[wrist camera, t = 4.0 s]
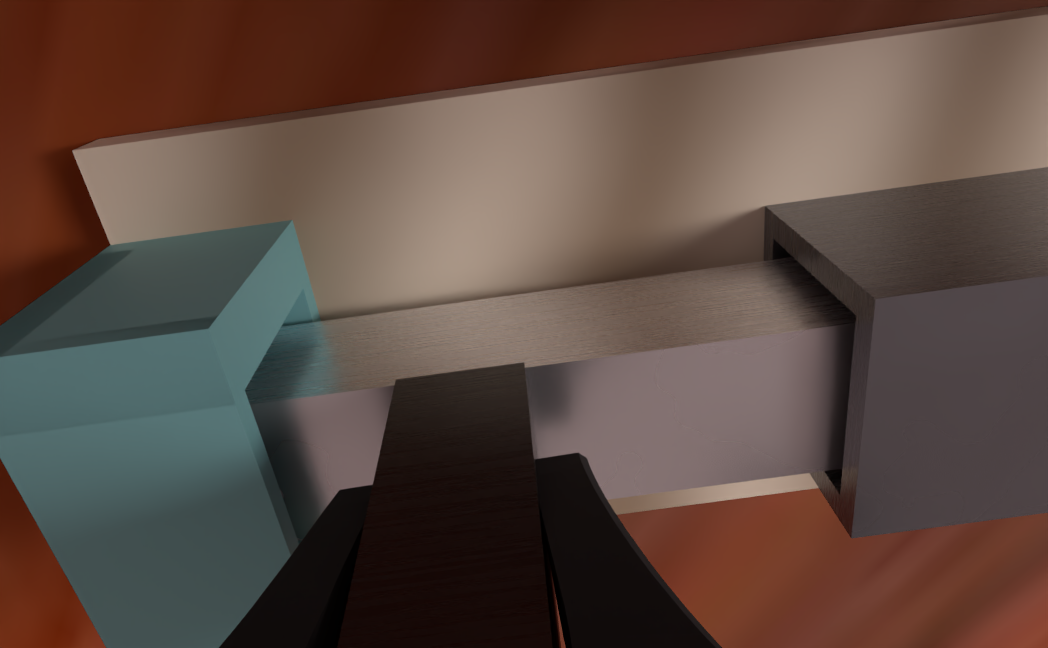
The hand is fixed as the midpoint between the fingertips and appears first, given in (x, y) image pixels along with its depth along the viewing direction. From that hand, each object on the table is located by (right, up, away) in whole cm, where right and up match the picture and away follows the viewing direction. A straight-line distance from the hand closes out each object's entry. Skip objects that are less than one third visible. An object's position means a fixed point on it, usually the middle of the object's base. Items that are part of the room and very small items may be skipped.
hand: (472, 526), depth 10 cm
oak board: (+3, +3, +6) cm, 7 cm away
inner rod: (+1, +2, +4) cm, 5 cm away
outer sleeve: (+9, +4, +6) cm, 12 cm away
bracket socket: (-5, +2, +6) cm, 8 cm away
